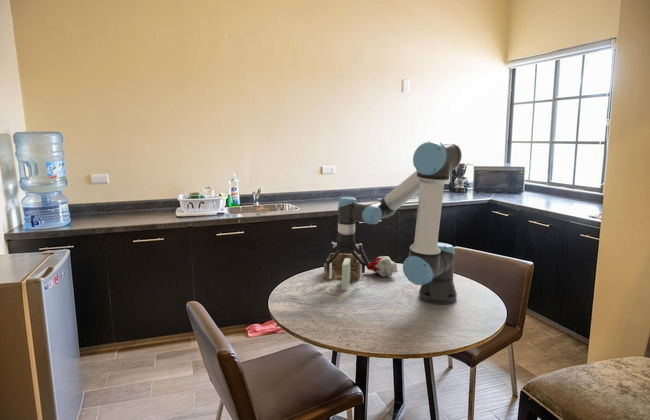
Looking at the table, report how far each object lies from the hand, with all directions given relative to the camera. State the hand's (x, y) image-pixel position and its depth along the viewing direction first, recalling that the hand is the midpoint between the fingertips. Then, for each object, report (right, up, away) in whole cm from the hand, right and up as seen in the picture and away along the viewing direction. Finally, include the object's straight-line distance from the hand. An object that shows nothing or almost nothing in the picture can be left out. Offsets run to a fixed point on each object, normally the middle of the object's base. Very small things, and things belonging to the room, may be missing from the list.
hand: (345, 278), depth 198 cm
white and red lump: (+18, 0, +16) cm, 24 cm away
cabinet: (-1, 0, +13) cm, 14 cm away
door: (0, -3, 0) cm, 3 cm away
